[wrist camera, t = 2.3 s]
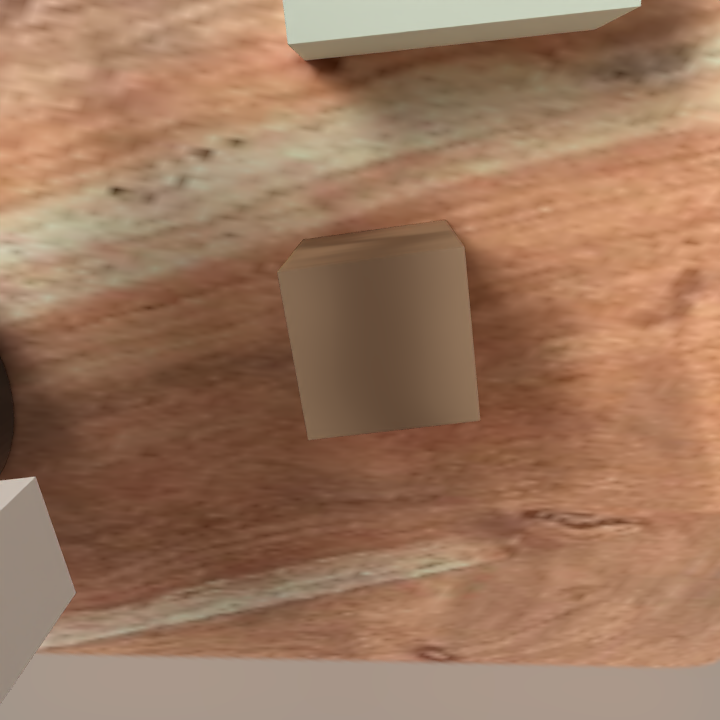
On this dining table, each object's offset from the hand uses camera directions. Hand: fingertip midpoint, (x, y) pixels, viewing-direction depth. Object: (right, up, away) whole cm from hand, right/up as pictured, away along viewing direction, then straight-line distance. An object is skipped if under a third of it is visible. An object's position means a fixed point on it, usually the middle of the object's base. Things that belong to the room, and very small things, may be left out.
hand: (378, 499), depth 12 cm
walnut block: (+1, +5, +16) cm, 17 cm away
